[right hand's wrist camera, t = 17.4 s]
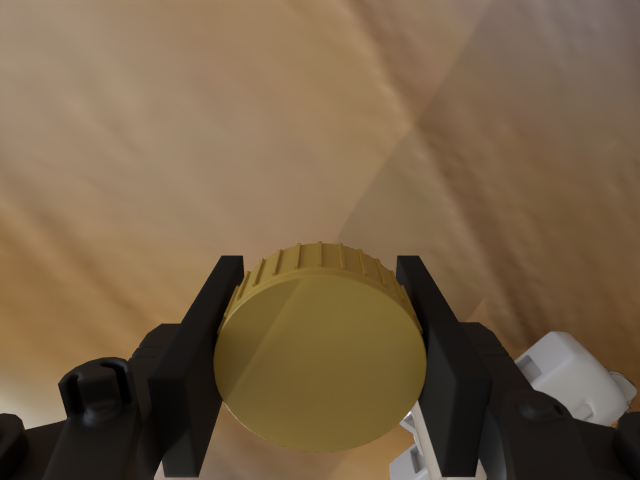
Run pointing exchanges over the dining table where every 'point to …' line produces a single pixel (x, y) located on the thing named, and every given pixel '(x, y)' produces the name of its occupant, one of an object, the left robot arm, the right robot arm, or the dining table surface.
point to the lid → (320, 349)
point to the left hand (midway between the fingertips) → (429, 385)
